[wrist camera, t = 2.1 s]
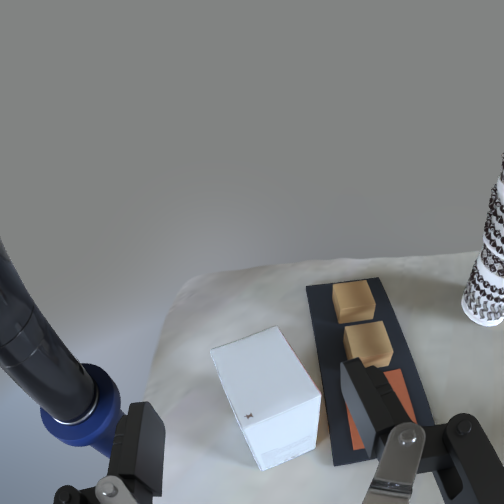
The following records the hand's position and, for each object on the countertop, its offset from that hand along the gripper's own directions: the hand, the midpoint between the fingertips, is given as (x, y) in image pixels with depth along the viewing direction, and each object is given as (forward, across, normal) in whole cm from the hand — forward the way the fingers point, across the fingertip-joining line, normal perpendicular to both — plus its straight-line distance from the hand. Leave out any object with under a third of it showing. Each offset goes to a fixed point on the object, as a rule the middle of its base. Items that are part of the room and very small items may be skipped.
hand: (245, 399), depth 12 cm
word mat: (+18, -13, +20) cm, 30 cm away
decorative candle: (+19, -35, +21) cm, 45 cm away
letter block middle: (+18, -13, +19) cm, 29 cm away
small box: (+11, 0, +20) cm, 23 cm away
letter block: (+26, -14, +18) cm, 34 cm away
